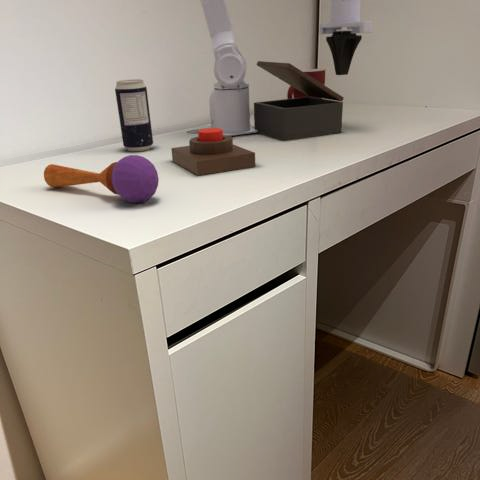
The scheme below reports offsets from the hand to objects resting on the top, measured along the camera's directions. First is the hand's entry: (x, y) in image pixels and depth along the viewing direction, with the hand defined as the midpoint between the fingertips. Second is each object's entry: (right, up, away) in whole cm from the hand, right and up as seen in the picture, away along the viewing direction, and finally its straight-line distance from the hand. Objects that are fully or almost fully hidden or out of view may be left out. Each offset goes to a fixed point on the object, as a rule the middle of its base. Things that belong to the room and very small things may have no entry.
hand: (341, 74), depth 103 cm
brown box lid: (-9, -2, -1) cm, 9 cm away
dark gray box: (-9, -10, +3) cm, 14 cm away
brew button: (-25, -21, -20) cm, 38 cm away
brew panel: (-25, -24, -18) cm, 39 cm away
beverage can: (-40, -17, -5) cm, 44 cm away
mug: (-5, 0, +22) cm, 23 cm away
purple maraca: (-40, -33, -32) cm, 61 cm away
